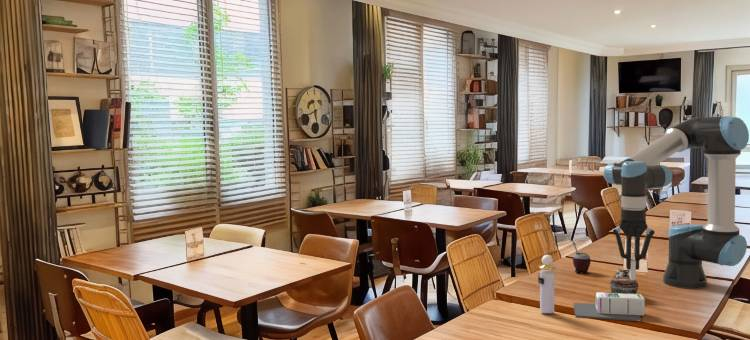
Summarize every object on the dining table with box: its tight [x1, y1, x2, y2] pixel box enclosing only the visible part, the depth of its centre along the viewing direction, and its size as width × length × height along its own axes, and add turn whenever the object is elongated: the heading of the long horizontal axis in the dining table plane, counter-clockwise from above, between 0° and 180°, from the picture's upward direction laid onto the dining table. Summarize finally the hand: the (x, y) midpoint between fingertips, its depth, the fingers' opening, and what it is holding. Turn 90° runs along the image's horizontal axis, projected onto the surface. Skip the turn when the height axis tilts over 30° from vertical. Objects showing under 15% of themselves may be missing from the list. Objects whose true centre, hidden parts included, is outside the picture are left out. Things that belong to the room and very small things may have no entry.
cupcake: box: [609, 269, 639, 294], centre depth 215 cm, size 10×10×10 cm
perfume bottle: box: [537, 254, 557, 314], centre depth 199 cm, size 6×6×20 cm
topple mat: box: [572, 302, 642, 322], centre depth 199 cm, size 20×14×1 cm
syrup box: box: [595, 291, 646, 316], centre depth 197 cm, size 6×6×14 cm
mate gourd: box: [567, 237, 591, 275], centre depth 250 cm, size 8×8×15 cm
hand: (632, 278), depth 196 cm, fingers closed
